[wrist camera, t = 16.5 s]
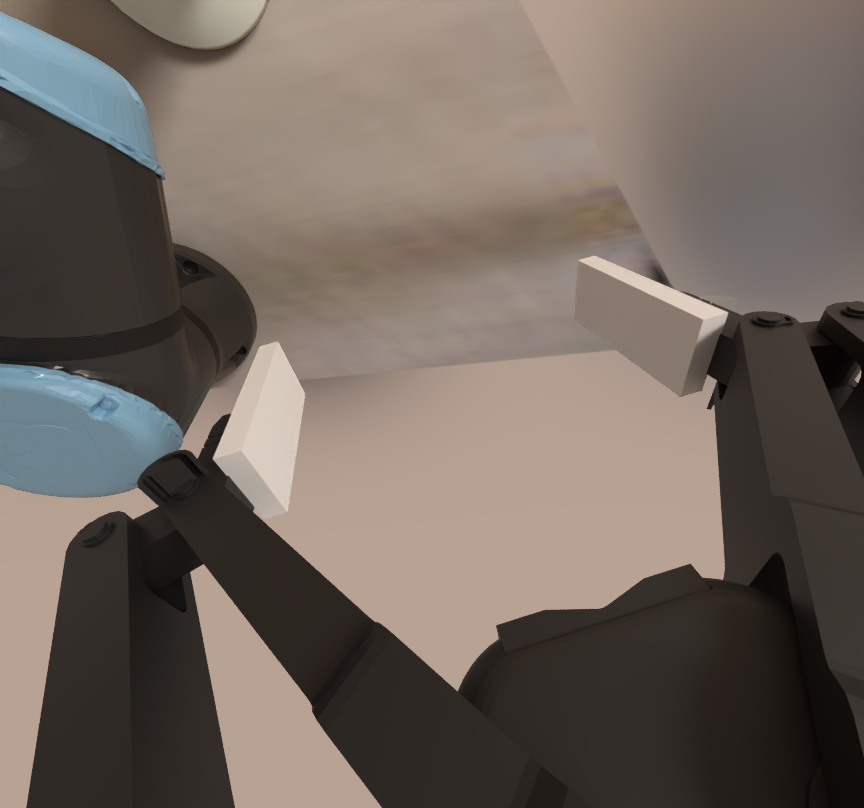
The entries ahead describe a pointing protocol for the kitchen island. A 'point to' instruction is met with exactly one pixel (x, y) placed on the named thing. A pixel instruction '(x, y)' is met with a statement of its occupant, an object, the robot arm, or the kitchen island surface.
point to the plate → (196, 20)
